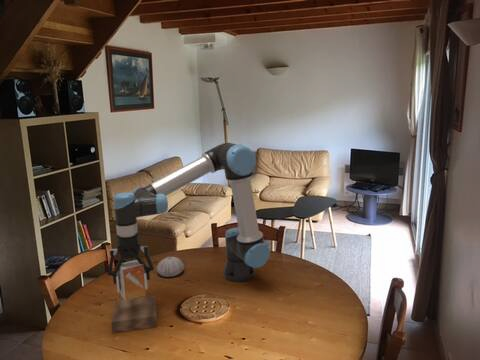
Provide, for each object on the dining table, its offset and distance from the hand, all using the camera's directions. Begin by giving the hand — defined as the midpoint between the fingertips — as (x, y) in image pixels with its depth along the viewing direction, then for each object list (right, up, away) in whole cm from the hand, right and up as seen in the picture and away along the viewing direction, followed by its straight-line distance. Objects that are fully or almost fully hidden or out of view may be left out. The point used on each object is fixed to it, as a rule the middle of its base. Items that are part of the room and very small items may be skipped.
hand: (132, 289), depth 156 cm
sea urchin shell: (+7, -4, +43) cm, 44 cm away
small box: (0, -3, +1) cm, 3 cm away
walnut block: (+1, -13, +3) cm, 13 cm away
